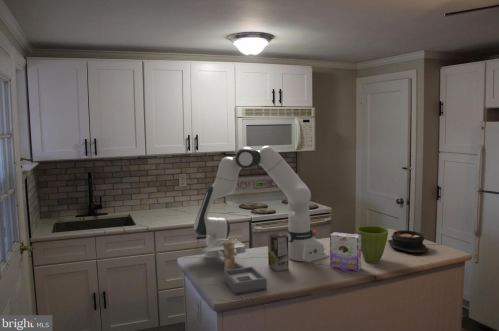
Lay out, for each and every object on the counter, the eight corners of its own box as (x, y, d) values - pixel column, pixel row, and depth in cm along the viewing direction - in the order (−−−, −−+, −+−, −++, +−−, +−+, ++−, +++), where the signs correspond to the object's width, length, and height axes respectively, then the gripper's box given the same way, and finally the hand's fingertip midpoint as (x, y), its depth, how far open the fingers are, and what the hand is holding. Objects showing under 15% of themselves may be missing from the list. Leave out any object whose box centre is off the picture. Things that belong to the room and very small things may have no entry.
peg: (232, 268, 199) (231, 240, 198) (234, 271, 196) (234, 242, 194) (224, 269, 198) (223, 241, 196) (226, 272, 194) (226, 243, 193)
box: (252, 276, 188) (252, 266, 188) (266, 289, 173) (266, 278, 173) (223, 281, 183) (223, 270, 183) (235, 295, 168) (235, 283, 168)
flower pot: (374, 254, 216) (374, 224, 215) (394, 262, 203) (395, 231, 201) (351, 258, 210) (351, 227, 209) (370, 267, 197) (370, 235, 195)
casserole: (379, 244, 234) (379, 229, 233) (408, 241, 239) (408, 226, 238) (406, 257, 210) (407, 241, 209) (437, 253, 215) (438, 238, 214)
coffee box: (289, 269, 197) (288, 236, 196) (278, 271, 194) (277, 238, 192) (278, 263, 205) (278, 232, 203) (267, 266, 202) (267, 234, 200)
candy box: (361, 268, 196) (361, 234, 195) (358, 272, 191) (358, 237, 189) (333, 263, 203) (333, 231, 202) (329, 267, 198) (329, 234, 196)
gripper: (200, 243, 204) (208, 251, 191) (239, 238, 211) (249, 245, 199) (201, 256, 204) (208, 264, 192) (239, 250, 212) (249, 258, 199)
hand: (229, 254), depth 195 cm, fingers closed on peg, 4 cm apart
